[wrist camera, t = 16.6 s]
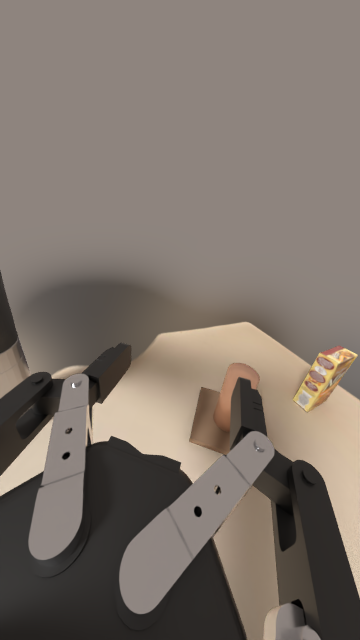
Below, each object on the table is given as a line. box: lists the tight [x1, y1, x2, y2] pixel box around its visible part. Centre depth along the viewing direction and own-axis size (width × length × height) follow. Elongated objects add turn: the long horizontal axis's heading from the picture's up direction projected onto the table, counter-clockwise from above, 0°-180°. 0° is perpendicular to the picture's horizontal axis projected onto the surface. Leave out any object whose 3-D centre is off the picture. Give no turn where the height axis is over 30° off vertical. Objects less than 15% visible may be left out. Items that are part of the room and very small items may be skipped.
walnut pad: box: [189, 387, 231, 455], centre depth 39 cm, size 13×13×1 cm
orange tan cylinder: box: [213, 363, 260, 432], centre depth 36 cm, size 6×6×13 cm
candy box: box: [293, 346, 357, 412], centre depth 44 cm, size 9×4×15 cm, turn 118°
